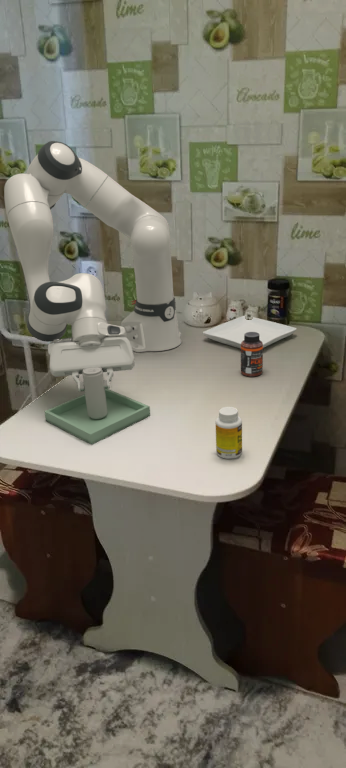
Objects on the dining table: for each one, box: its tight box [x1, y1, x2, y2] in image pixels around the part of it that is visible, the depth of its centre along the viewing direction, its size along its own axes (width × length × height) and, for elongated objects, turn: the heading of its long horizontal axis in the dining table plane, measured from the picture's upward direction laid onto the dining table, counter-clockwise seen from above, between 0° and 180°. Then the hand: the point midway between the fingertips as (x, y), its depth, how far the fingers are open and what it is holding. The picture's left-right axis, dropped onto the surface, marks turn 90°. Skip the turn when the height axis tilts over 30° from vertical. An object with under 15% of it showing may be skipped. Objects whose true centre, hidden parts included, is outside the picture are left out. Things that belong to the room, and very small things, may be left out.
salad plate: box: [202, 315, 297, 349], centre depth 200 cm, size 21×21×3 cm
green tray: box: [44, 389, 151, 445], centre depth 156 cm, size 18×18×3 cm
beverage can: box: [81, 367, 108, 419], centre depth 154 cm, size 5×5×12 cm
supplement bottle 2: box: [240, 332, 264, 378], centre depth 174 cm, size 6×6×11 cm
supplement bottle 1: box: [215, 406, 243, 460], centre depth 137 cm, size 6×6×10 cm
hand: (94, 389), depth 153 cm, fingers closed on beverage can, 4 cm apart
